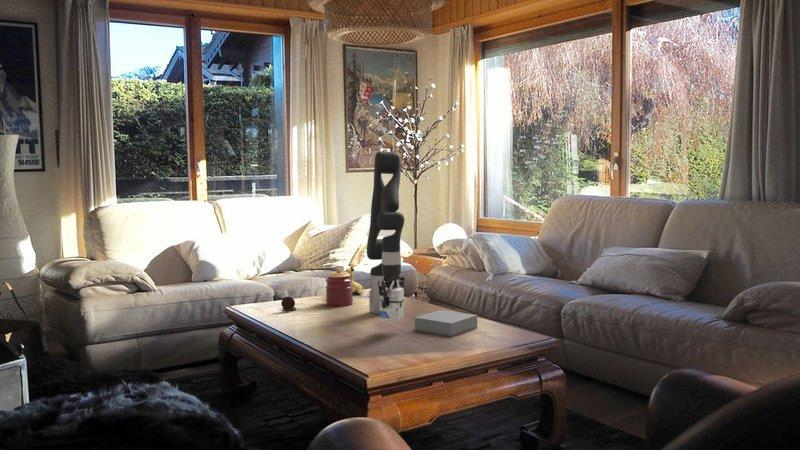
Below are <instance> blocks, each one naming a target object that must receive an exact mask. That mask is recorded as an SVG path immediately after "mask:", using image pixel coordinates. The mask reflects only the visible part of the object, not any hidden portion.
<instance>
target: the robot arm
mask: <svg viewBox="0 0 800 450" xmlns="http://www.w3.org/2000/svg"><path fill="white" fill-rule="evenodd" d="M374 156H375V157H374V160H373V161H374V163H373V167H374V169H373V189H372V198H371V206H370V219H369V220H370V222H369V232H368V236H367V237H368V238H367V243H366V256H367V259H368V260H372V261H376V260H380V261H381V263H378V265H376V266H373V267H372V268H370V291H369V292H368V294H369V295H368V296H369V297H368V298H369V300H368V302H369V304H368V305H369V312H370V313H371V314H375V315H380V296H383V299H384V306H389V294H390V292H391V290H392V288H396V287H397V288H404V289H405V279H406V278H405V276H400V275H401V273H402V255H401V235H402V232H403V229H404V225H405V216H404V214H403V212H399V208H400V194H399V191H400V190H399V189H400V184H401V182H400V181H401V174H402V173H401V171H402V157H401V154H400V153H399V152H396V151H395V152H394V151H377V152H376V153H375V155H374ZM382 174H383V175H385V174H386V175H392V176H391V178H390V180H389V181H388V182H387V183H386V184H385V183H384V180H383V177H382ZM381 231H394V233H393V234H389V235H385V236H383V238H378V237H379V235H380V232H381ZM386 287H387V288H389V289H386ZM382 291H383V293H382ZM386 291H387V294H386Z"/></svg>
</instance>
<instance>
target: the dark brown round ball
mask: <svg viewBox="0 0 800 450" xmlns="http://www.w3.org/2000/svg"><path fill="white" fill-rule="evenodd" d="M280 304H281V307H279V308H278V309H279V310H282V311H284V312H294V311H296V310H297V307H295V305H296V302H295V299H294V298H293V296H292V297H291V296H289V295H288V296H285V297H283V298H282V300H281V303H280Z"/></svg>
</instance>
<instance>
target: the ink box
mask: <svg viewBox="0 0 800 450" xmlns="http://www.w3.org/2000/svg"><path fill="white" fill-rule="evenodd" d="M386 289H389V288H387V287H386ZM382 293H383V291H382ZM386 294H387V291H386ZM404 298H405V287H404V288H401V287H400V288H397V287H396V288H392V290H391V292H390V294H389V306H384V299H383V296H380V314H379V318H382V319H393V320H400V319H403V318H404V315H405V312H404V311H405V307H404V304H405V302H404Z"/></svg>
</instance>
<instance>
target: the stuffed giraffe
mask: <svg viewBox="0 0 800 450" xmlns="http://www.w3.org/2000/svg"><path fill="white" fill-rule="evenodd" d="M354 267H355V266H353V265H350V267H348V268H346V269H345V271H344V272H348V273H349V274H351V276H350V278H352V279H353V280H352V286H353V287H352V294H353V299H354V298H358V299H360V298H369V293H368V294H366V295H362V294H364V293H366V291H365V288H364V287H363V286H362V285H361V284H360V283H358V282H355V281H354V277H355V275H354V274H355V273H354V271H355V268H354Z"/></svg>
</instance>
